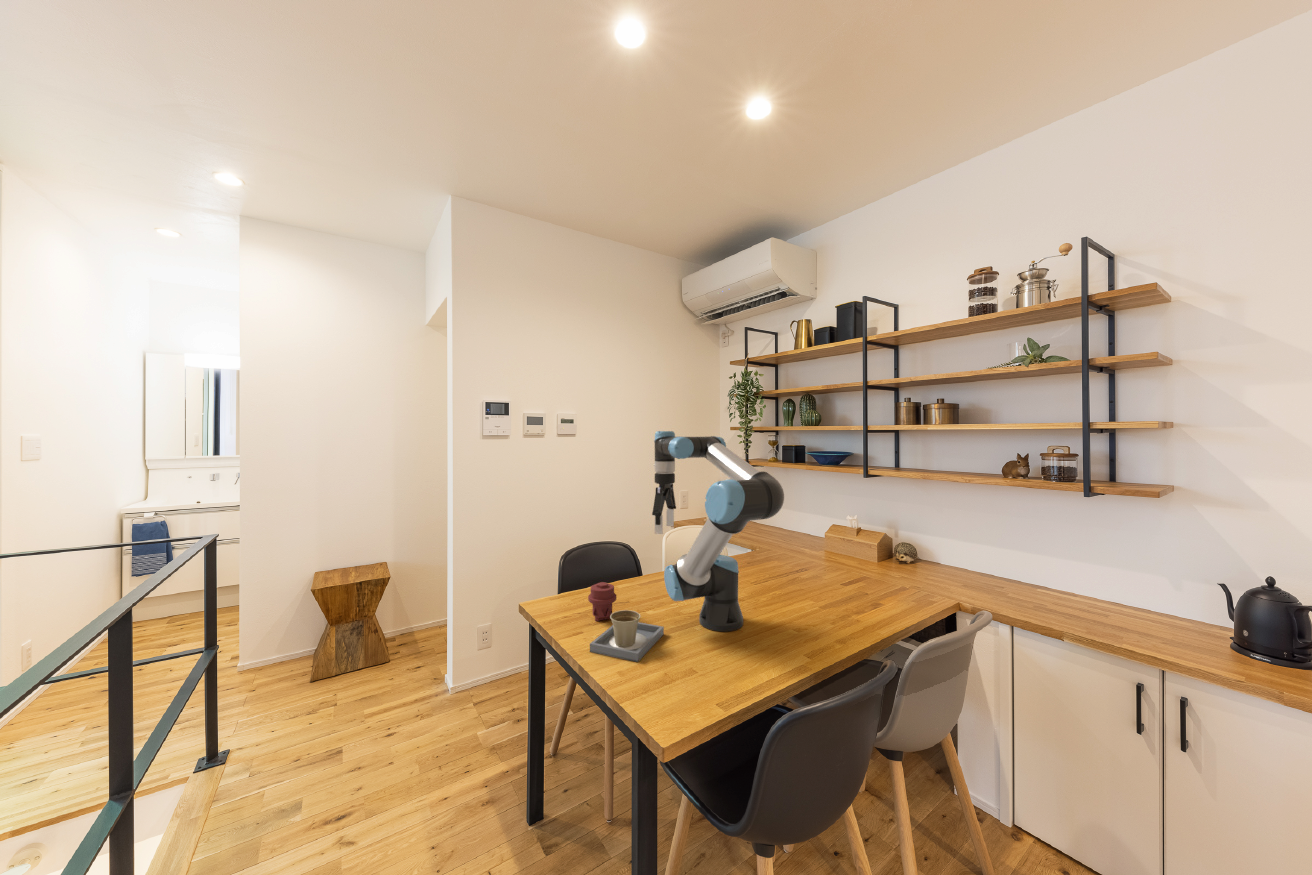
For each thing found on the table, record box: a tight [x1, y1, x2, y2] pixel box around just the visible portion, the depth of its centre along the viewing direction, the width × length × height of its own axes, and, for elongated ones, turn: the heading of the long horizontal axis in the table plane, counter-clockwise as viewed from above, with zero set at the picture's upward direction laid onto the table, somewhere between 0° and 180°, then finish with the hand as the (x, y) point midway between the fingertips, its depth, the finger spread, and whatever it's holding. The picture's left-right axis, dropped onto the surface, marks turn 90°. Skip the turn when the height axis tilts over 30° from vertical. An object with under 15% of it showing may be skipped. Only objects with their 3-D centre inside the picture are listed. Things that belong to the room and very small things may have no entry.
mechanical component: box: [588, 581, 617, 622], centre depth 165 cm, size 12×10×10 cm
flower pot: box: [610, 609, 641, 647], centre depth 144 cm, size 9×9×9 cm
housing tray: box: [589, 621, 665, 663], centre depth 146 cm, size 16×20×2 cm
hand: (664, 529), depth 172 cm, fingers open, 13 cm apart
